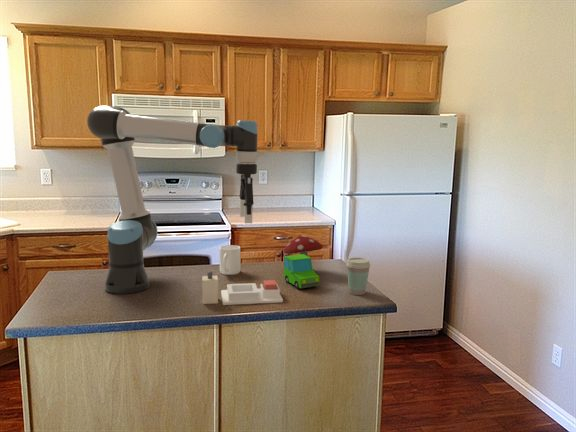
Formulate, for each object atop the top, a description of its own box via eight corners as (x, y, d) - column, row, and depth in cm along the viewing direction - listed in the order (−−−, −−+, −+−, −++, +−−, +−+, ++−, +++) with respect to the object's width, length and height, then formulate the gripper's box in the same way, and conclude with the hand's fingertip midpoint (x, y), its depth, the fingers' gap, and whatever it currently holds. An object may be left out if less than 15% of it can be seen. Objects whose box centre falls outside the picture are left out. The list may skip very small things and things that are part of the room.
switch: (265, 290, 167) (265, 284, 167) (263, 285, 172) (263, 280, 172) (276, 290, 168) (276, 284, 167) (274, 285, 173) (274, 279, 172)
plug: (202, 303, 162) (202, 274, 160) (202, 298, 167) (202, 270, 165) (218, 303, 163) (217, 274, 161) (217, 298, 168) (217, 269, 166)
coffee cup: (370, 290, 179) (372, 258, 177) (366, 297, 171) (368, 264, 169) (347, 287, 181) (349, 256, 179) (342, 294, 173) (343, 261, 171)
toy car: (298, 292, 175) (298, 265, 174) (281, 282, 187) (281, 256, 185) (322, 288, 180) (323, 262, 178) (304, 278, 192) (305, 253, 190)
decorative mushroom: (282, 276, 193) (282, 239, 190) (283, 265, 209) (284, 231, 206) (322, 277, 193) (324, 240, 190) (321, 266, 208) (322, 232, 206)
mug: (233, 278, 190) (233, 252, 188) (213, 277, 191) (213, 251, 189) (242, 270, 201) (242, 245, 199) (223, 268, 203) (223, 244, 201)
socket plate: (222, 304, 161) (222, 295, 161) (221, 292, 174) (221, 282, 173) (283, 302, 165) (283, 292, 164) (276, 289, 177) (277, 280, 177)
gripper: (262, 165, 170) (261, 226, 174) (251, 160, 194) (251, 213, 198) (240, 165, 168) (240, 226, 172) (232, 160, 192) (232, 214, 196)
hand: (245, 219), depth 185 cm, fingers open, 13 cm apart
